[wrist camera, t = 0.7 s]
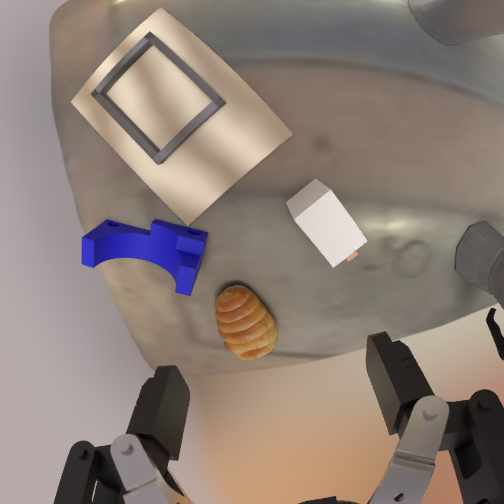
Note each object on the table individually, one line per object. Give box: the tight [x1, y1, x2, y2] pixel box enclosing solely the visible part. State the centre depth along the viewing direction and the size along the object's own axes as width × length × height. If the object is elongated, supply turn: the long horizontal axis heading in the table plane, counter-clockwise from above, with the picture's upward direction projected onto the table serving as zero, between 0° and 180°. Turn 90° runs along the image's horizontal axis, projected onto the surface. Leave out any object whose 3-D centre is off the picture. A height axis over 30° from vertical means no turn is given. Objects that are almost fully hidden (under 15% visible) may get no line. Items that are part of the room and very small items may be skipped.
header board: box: [71, 7, 293, 226], centre depth 24 cm, size 14×20×2 cm
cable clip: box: [82, 219, 208, 296], centre depth 28 cm, size 12×4×6 cm, turn 74°
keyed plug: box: [286, 178, 367, 268], centre depth 27 cm, size 4×7×6 cm, turn 41°
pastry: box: [215, 285, 278, 360], centre depth 32 cm, size 9×7×4 cm
